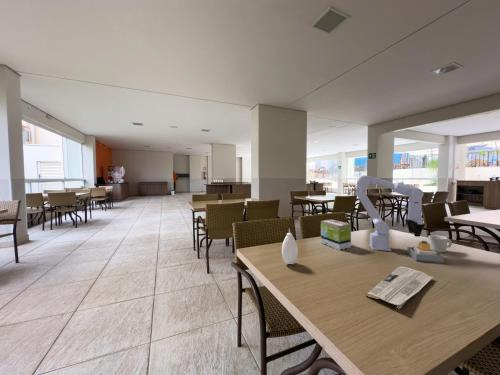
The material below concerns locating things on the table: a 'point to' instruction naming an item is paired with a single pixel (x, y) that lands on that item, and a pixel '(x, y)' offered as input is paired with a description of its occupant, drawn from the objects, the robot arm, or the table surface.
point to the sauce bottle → (289, 249)
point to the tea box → (336, 234)
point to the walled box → (425, 255)
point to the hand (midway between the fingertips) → (414, 234)
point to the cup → (439, 243)
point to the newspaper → (400, 285)
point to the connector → (424, 246)
